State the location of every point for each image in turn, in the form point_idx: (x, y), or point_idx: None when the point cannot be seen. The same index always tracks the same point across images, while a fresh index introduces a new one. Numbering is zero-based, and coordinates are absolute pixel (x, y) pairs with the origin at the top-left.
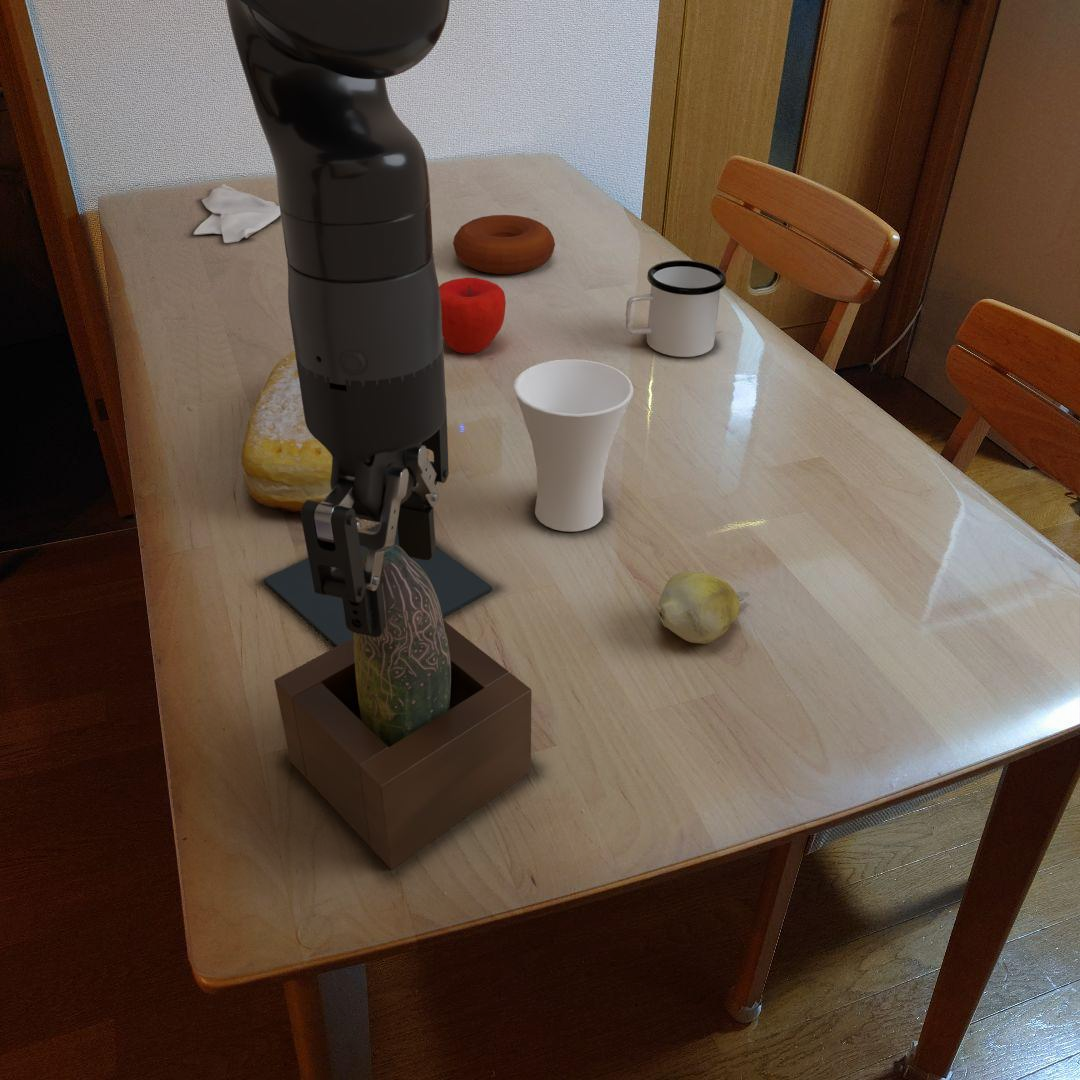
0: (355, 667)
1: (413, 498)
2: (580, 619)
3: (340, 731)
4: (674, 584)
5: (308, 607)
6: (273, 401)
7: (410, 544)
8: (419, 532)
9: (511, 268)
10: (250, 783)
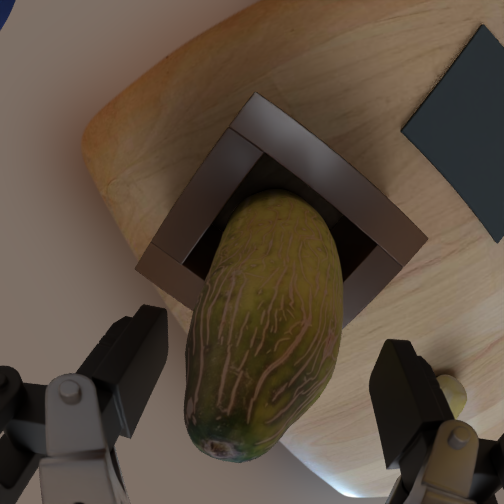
0: (246, 221)
1: (415, 471)
2: (457, 318)
3: (188, 206)
4: (450, 405)
5: (462, 69)
6: None
7: (388, 371)
8: (387, 412)
9: None
10: (232, 78)
